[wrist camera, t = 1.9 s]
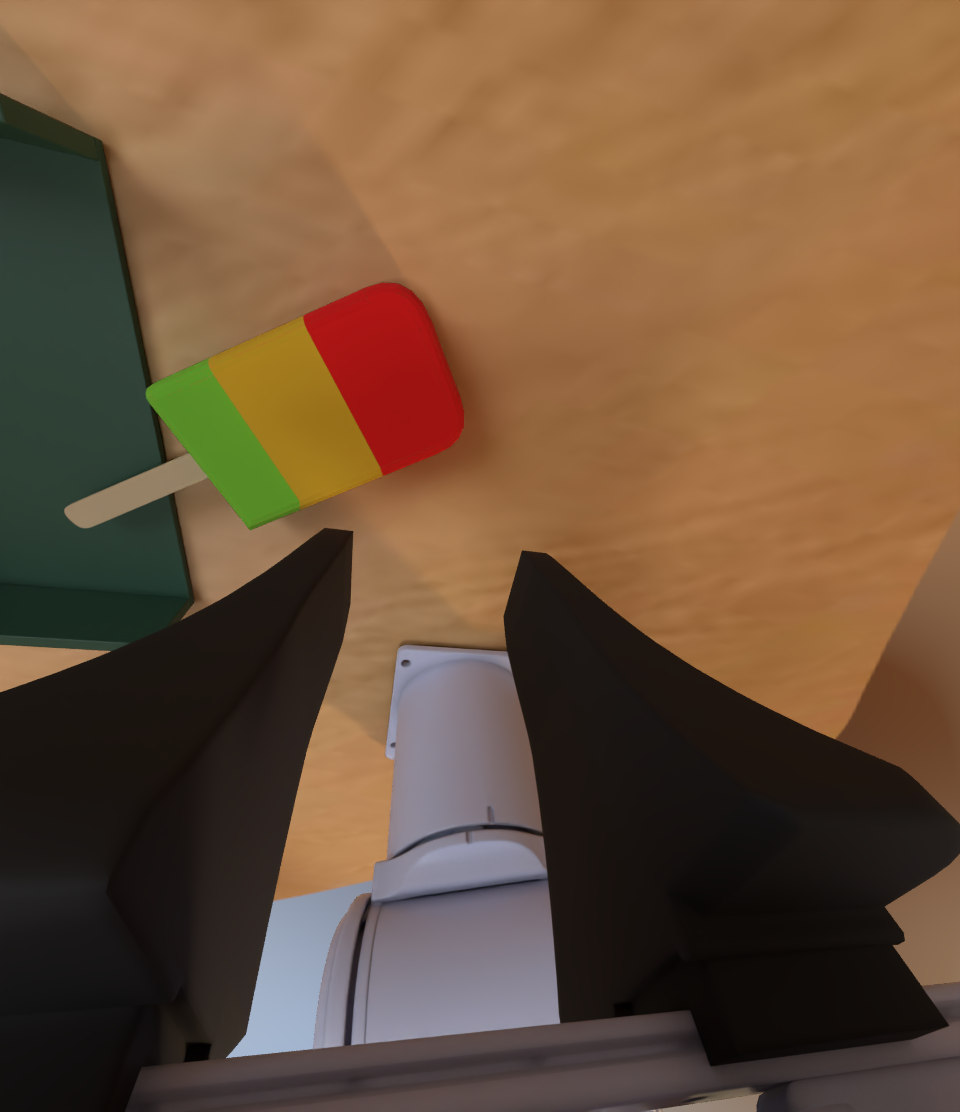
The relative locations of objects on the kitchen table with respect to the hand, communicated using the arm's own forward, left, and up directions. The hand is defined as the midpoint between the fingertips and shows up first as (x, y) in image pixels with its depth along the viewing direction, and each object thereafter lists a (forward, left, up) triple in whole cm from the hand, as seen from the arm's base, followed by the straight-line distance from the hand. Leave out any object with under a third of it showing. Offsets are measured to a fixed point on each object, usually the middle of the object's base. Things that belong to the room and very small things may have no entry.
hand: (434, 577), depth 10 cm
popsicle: (0, +6, -8) cm, 11 cm away
